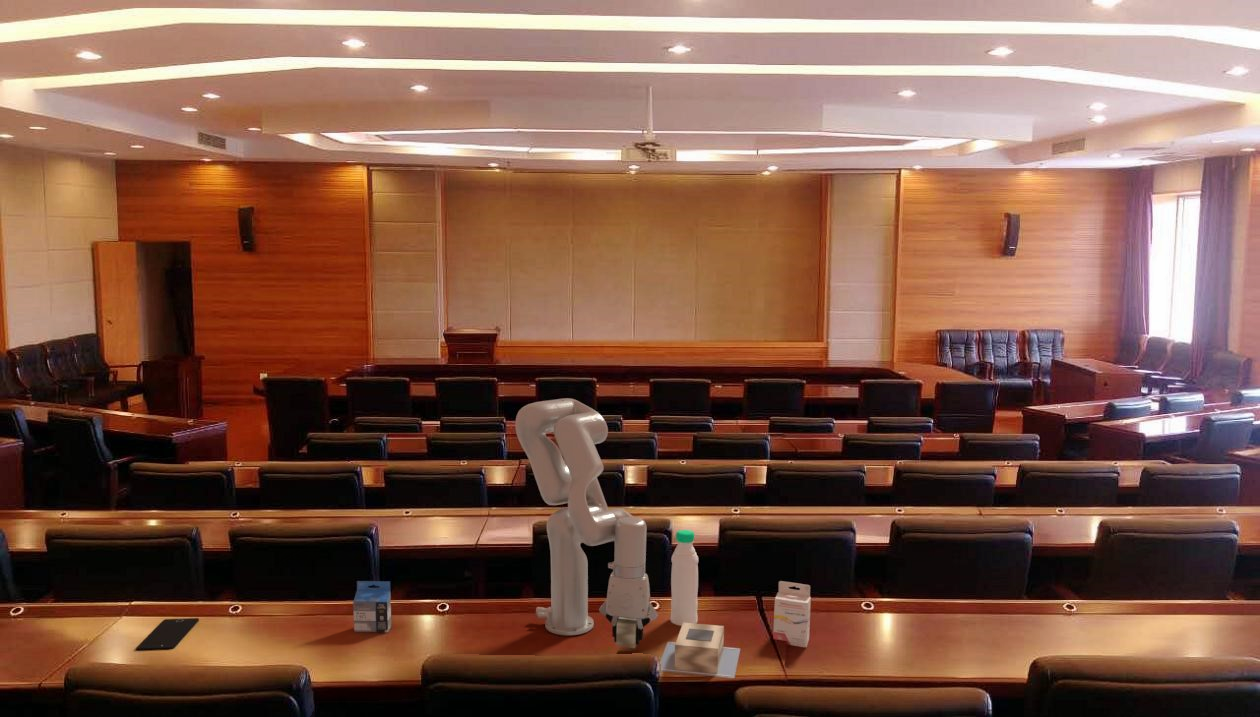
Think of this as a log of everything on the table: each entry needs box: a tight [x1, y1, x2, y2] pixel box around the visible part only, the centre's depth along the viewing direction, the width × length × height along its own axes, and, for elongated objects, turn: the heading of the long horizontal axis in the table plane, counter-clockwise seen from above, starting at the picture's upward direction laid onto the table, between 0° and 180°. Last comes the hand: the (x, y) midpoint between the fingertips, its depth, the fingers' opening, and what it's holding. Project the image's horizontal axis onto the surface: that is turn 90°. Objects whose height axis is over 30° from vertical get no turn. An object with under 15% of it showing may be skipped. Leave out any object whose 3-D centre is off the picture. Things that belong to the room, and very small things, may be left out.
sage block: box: [615, 617, 637, 649], centre depth 224 cm, size 5×5×6 cm
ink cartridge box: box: [772, 580, 812, 648], centre depth 233 cm, size 9×5×15 cm, turn 71°
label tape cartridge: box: [352, 580, 392, 633], centre depth 239 cm, size 9×4×12 cm, turn 90°
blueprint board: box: [659, 641, 741, 679], centre depth 221 cm, size 18×16×1 cm
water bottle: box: [670, 529, 699, 627], centre depth 242 cm, size 7×7×25 cm
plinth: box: [675, 622, 725, 673], centre depth 221 cm, size 10×13×6 cm
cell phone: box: [135, 617, 199, 652], centre depth 236 cm, size 9×18×1 cm, turn 6°
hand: (627, 640), depth 225 cm, fingers closed on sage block, 4 cm apart
